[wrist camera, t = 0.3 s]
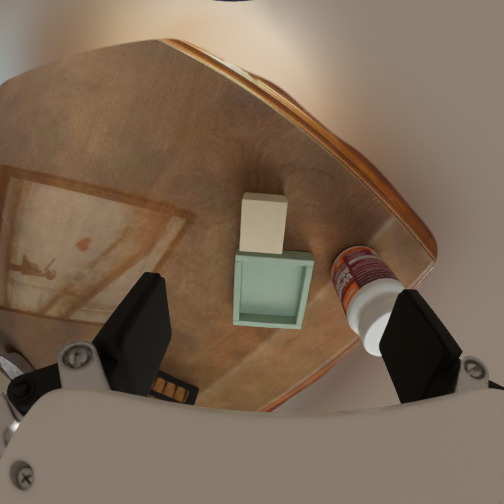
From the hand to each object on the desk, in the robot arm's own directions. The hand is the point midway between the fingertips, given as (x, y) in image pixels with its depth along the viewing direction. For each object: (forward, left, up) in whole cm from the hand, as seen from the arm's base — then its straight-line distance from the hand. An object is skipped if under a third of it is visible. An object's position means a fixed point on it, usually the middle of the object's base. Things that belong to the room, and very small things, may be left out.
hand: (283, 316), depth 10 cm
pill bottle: (+7, +10, -18) cm, 22 cm away
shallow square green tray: (+10, +1, -18) cm, 20 cm away
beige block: (+2, -1, -18) cm, 18 cm away
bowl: (+42, -58, -18) cm, 74 cm away
